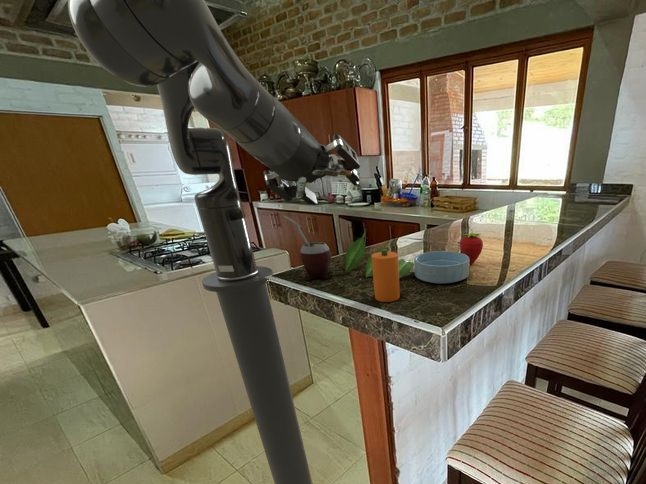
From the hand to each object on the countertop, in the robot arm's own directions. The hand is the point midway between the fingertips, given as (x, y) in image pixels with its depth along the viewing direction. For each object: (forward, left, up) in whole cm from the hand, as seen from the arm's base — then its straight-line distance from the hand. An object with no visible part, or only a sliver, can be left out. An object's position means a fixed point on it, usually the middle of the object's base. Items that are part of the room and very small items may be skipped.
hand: (334, 190), depth 60 cm
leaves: (-7, +16, -21) cm, 27 cm away
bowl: (+8, +23, -21) cm, 32 cm away
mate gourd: (-17, +5, -21) cm, 28 cm away
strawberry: (+9, +35, -21) cm, 42 cm away
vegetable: (+6, +5, -21) cm, 23 cm away
